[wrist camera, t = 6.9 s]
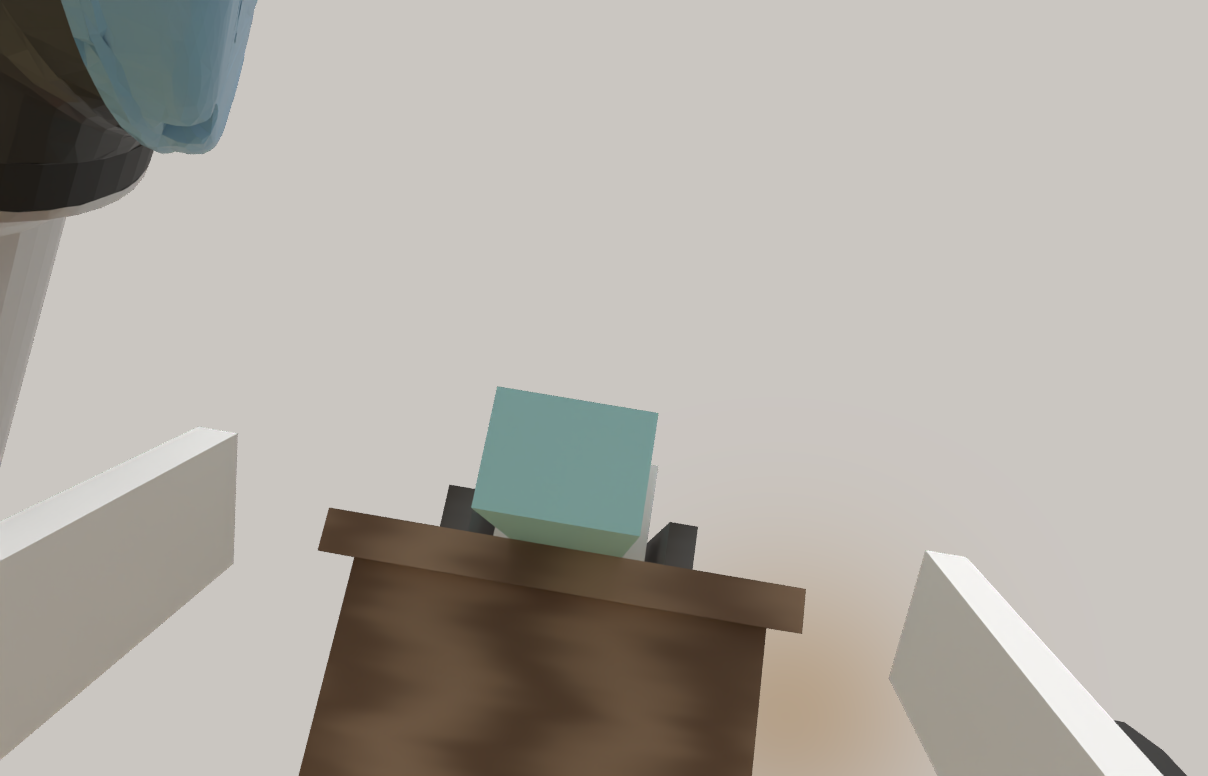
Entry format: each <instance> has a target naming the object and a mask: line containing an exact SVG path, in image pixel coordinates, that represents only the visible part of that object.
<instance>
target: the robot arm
mask: <svg viewBox="0 0 1208 776" xmlns="http://www.w3.org/2000/svg"><path fill="white" fill-rule="evenodd" d="M256 3H257V0H0V465H1V461H2V457H3V454H4V450H5V446H6V442H7V439H8V435H9V431H10V427H11V423H12V420H13V416H14V412H15V408H16V404H17V400H18V397H19V393H20V389H21V386H22V382H23V378H24V374H25V370H26V366H27V363H28V359H29V355H30V352H31V348H32V344H33V340H34V336H35V333H36V329H37V325H38V321H39V318H40V314H41V310H42V306H43V302H44V299H45V295H46V291H47V287H48V283H49V279H50V276H51V272H52V268H53V265H54V261H55V257H56V253H57V249H58V245H59V242H60V238H61V234H62V230H63V227H64V223H65V219H66V217H68V216H73V215H78V214H82V213H85V212H89V211H91V210H95V209H98V208H102V207H104V206H106V205H108V204H110V203H113V202H115V201H117V200H119V199H120V198H122V197H123V196H125V195H126V194H128V193H129V192H131V191H132V190H133V189H134V188H135V187H136V186H137V185H138V183H139V182H140V181H141V180H142V178H143V177H144V175H145V173H146V170H147V167H148V165H149V163H150V160H151V157H152V154H153V150H154V151H156V152H159V153H172V152H175V151H176V152H182V153H186V154H204V153H206V152H208V151H210V150H211V149H213V148H214V147H215V146H216V144H217V143H218V141H219V139H220V137H221V136H222V133H223V131H224V128H225V125H226V122H227V118H228V115H229V112H230V108H231V105H232V102H233V99H234V96H235V92H236V88H237V85H238V81H239V77H240V73H241V69H242V65H243V61H244V53H245V49H246V45H247V41H248V37H249V32H250V27H251V24H252V19H253V13H254V9H255V5H256ZM237 435H238V434H237V433H233V432H227V431H221V430H215V429H209V428H204V427H197V428H195V429H193V430H191V431H188V432H186V433H184V434H182V435H180V436H178V437H176V438H174V439H172V440H170V441H168V442H165V443H163V444H161V445H159V446H157V447H155V448H153V449H151V450H148V451H147V452H144V453H142V454H140V455H138V456H136V457H134V458H132V459H130V460H128V461H125V462H123V463H121V464H119V465H117V466H115V467H113V468H111V469H109V470H107V471H105V472H102V473H100V474H98V475H96V476H94V477H92V478H90V479H88V480H86V481H84V482H82V483H79V484H77V485H76V486H73V487H71V488H69V489H67V490H65V491H63V492H60V493H58V494H56V495H54V496H52V497H50V498H48V499H46V500H44V501H42V502H40V503H37V504H36V505H33V506H31V507H29V508H27V509H25V510H23V511H21V512H19V513H16V514H14V515H12V516H10V517H8V518H6V519H4V520H2V521H0V760H1V759H2V758H3V757H4V756H6V755H7V754H8V753H9V752H10V751H11V750H12V749H14V748H15V747H16V746H17V745H19V744H20V743H21V742H22V741H23V740H24V739H25V738H27V737H28V736H29V735H30V734H32V733H33V732H34V731H35V730H36V729H37V728H39V727H40V726H41V725H42V724H43V723H45V722H46V721H47V720H48V719H49V718H51V717H52V716H53V715H54V714H55V713H57V712H58V711H59V710H60V709H61V708H62V707H64V706H65V705H66V704H67V703H68V702H70V701H71V700H72V699H73V698H74V697H75V696H77V695H78V694H79V693H80V692H81V691H82V690H84V689H85V688H86V687H87V686H89V685H90V684H91V683H92V682H93V681H94V680H96V679H97V678H98V677H99V676H100V675H102V674H103V673H104V672H105V671H106V670H108V669H109V668H110V667H111V666H112V665H113V664H115V663H116V662H117V661H118V660H119V659H121V658H122V657H123V656H124V655H125V654H126V653H128V652H129V651H130V650H131V649H132V648H134V647H135V646H136V645H137V644H138V643H139V642H141V641H142V640H143V639H144V638H145V637H147V636H148V635H149V634H150V633H151V632H153V631H154V630H155V629H156V628H157V627H159V626H160V625H161V624H162V623H163V622H165V621H166V620H167V619H168V618H169V617H170V616H172V615H173V614H174V613H175V612H176V611H178V610H179V609H180V608H181V607H182V606H184V605H185V604H186V603H187V602H188V601H189V600H191V599H192V598H193V597H194V596H195V595H197V594H198V593H199V592H200V591H201V590H202V589H204V588H205V587H206V586H207V585H208V584H209V583H211V582H212V581H213V580H214V579H215V578H217V577H218V576H219V575H220V574H222V573H223V572H224V571H225V570H226V569H227V568H229V567H230V566H231V565H232V564H233V557H234V529H235V526H234V525H235V498H236V495H235V494H236V467H237ZM889 680H890V682H891V684H892V686H893V688H894V690H895V692H896V693H897V696H898V697H899V700H900V702H901V704H902V706H903V708H904V710H905V712H906V714H907V716H908V718H909V720H910V722H911V724H912V726H913V727H914V729H915V731H916V733H917V735H918V737H919V739H920V741H921V743H922V745H923V747H924V749H925V751H926V753H927V755H928V757H929V759H930V761H931V763H932V765H933V767H934V769H935V771H936V773H937V775H938V776H1187V775H1186V774H1185V773H1184V772H1183V771H1182V770H1181V769H1180V768H1179V767H1178V766H1177V765H1176V764H1175V763H1174V762H1173V760H1172V759H1171V758H1170V757H1169V756H1168V755H1167V754H1166V753H1165V752H1164V751H1163V750H1162V749H1160V748H1159V747H1158V746H1156V745H1155V744H1153V743H1152V742H1151V741H1149V740H1148V739H1147V738H1145V737H1144V736H1143V735H1141V734H1140V733H1138V732H1137V731H1136V730H1134V729H1133V728H1131V727H1130V726H1129V725H1127V724H1126V723H1124V722H1120V721H1114V720H1113V719H1112V718H1111V717H1110V716H1109V715H1108V714H1107V713H1106V711H1105V710H1104V709H1103V708H1102V707H1101V706H1100V705H1099V704H1098V703H1097V702H1096V700H1095V699H1094V698H1093V697H1092V696H1091V695H1090V694H1089V693H1088V691H1087V690H1086V689H1085V688H1084V687H1083V686H1082V685H1081V684H1080V683H1079V681H1078V680H1077V679H1076V678H1075V677H1074V676H1073V675H1072V674H1071V673H1070V671H1069V670H1068V669H1067V668H1066V667H1065V666H1064V665H1063V664H1062V663H1061V662H1060V661H1059V659H1058V658H1057V657H1056V656H1055V655H1054V654H1053V653H1052V652H1051V650H1050V649H1049V648H1048V647H1047V646H1046V645H1045V644H1044V643H1043V641H1042V640H1041V639H1040V638H1039V637H1038V636H1037V635H1036V634H1035V633H1034V632H1033V630H1032V629H1031V628H1030V627H1029V626H1028V625H1027V624H1026V623H1025V621H1024V620H1022V618H1021V617H1020V616H1019V615H1018V614H1017V613H1016V611H1014V609H1013V608H1012V607H1011V606H1010V605H1009V604H1008V603H1007V601H1006V600H1005V599H1004V598H1003V597H1002V596H1001V595H1000V594H999V593H998V591H997V590H996V589H995V588H994V587H993V586H992V585H991V584H990V583H989V582H988V580H987V579H986V578H985V577H984V576H983V575H982V574H981V573H980V571H978V569H977V568H976V567H975V566H974V565H973V564H972V563H971V561H970V560H969V559H968V558H967V557H962V556H956V555H950V554H944V553H939V552H933V551H927V550H926V551H925V554H924V558H923V561H922V564H921V568H920V571H919V575H918V578H917V582H916V585H915V589H914V592H913V596H912V599H911V602H910V606H909V609H908V613H907V616H906V620H905V623H904V627H903V630H902V634H901V637H900V641H899V644H898V648H897V651H896V655H895V658H894V662H893V665H892V669H891V672H890V676H889Z"/></svg>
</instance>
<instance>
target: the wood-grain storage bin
mask: <svg viewBox="0 0 1208 776" xmlns="http://www.w3.org/2000/svg"><path fill="white" fill-rule="evenodd" d="M474 492H475V489H471V488H466V487H460V486H454V485H449V489H448V494H447V498H446V502H445V507H444V511H443V516H442V520H441V525H440V527H439V526H434V525H427V524H422V523H415V522H410V521H404V520H398V519H392V518H387V517H381V516H375V515H369V514H363V513H358V512H352V511H346V510H340V509H334V508H329V510H328V514H327V518H326V521H325V525H324V529H323V532H322V537H321V540H320V544H319V548H318V550H319V551H324V552H329V553H335V554H341V555H346V556H351V557H354V561H353V565H352V569H351V573H350V576H349V580H348V584H347V588H346V592H345V596H344V600H343V604H342V608H341V612H340V616H339V620H338V624H337V628H336V631H335V635H334V639H333V643H332V647H331V651H330V655H329V659H328V663H327V667H326V671H325V674H324V678H323V682H322V686H321V690H320V694H319V698H318V702H317V706H316V710H315V714H314V718H313V722H312V726H311V729H310V734H309V737H308V741H307V745H306V749H305V753H304V757H303V761H302V765H301V769H300V773H299V776H752V767H753V757H754V747H755V737H756V726H757V717H758V707H759V696H760V686H761V676H762V665H763V656H764V645H765V635H766V628H769V629H775V630H781V631H788V632H794V633H801V634H802V627H803V616H804V605H805V593H806V589H802V588H797V587H791V586H785V585H779V584H773V583H767V582H761V581H756V580H750V579H744V578H738V577H732V576H726V575H720V574H714V573H709V572H703V571H697V570H692V568H693V560H694V553H695V545H696V537H697V529H698V527H695V526H689V525H684V524H678V523H672V522H670V523H669V524H668V525H666V526H665V527H664V528H663V529H662V530H661V531H660V532H659V533H658V534H657V535H656V536H655V537H653V538H652V539H651V540H650V541H649V542H648V543H647V546H646V553H645V560H644V561H639V560H633V559H627V558H621V557H615V556H609V555H603V554H598V553H592V552H586V551H580V550H574V549H568V548H562V547H557V546H551V545H545V544H539V543H533V542H527V541H521V540H516V539H510V538H504V537H498V536H493V534H494V530H495V526H493V525H492V524H491V523H490V522H488V521H487V520H486V519H485V518H483V517H482V516H481V515H480V514H478V513H477V512H476V511H475V510H473V509H472V508H471V506H472V502H473V497H474Z"/></svg>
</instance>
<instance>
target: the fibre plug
mask: <svg viewBox="0 0 1208 776" xmlns="http://www.w3.org/2000/svg"><path fill="white" fill-rule="evenodd" d="M657 419H658V413H654V412H648V411H643V410H637V409H631V408H625V407H618V406H612V405H606V404H600V403H594V402H588V401H582V400H576V399H570V398H564V397H558V396H552V395H546V394H539V393H533V392H528V391H522V390H516V389H510V388H504V387H497V390H496V395H495V400H494V404H493V409H492V414H491V418H490V423H489V427H488V432H487V437H486V442H485V446H484V451H483V455H482V460H481V465H480V469H479V474H478V479H477V483H476V488H475V492H474V497H473V502H472V506H471V508H472V509H473V510H475V511H476V512H477V513H478V514H480V515H481V516H482V517H483V518H485V519H486V520H487V521H488V522H490V523H491V524H492V525H493V526H495V530H494V534H493V536H498V537H504V538H510V539H516V540H521V541H527V542H533V543H539V544H545V545H551V546H557V547H562V548H568V549H574V550H580V551H586V552H592V553H598V554H603V555H609V556H615V557H621V558H627V559H633V560H639V561H644V560H645V553H646V546H647V539H648V532H649V526H650V518H651V511H652V505H653V498H654V491H655V484H656V478H657V471H658V466H655V465H651V460H652V453H653V445H654V439H655V432H656V426H657Z"/></svg>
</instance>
